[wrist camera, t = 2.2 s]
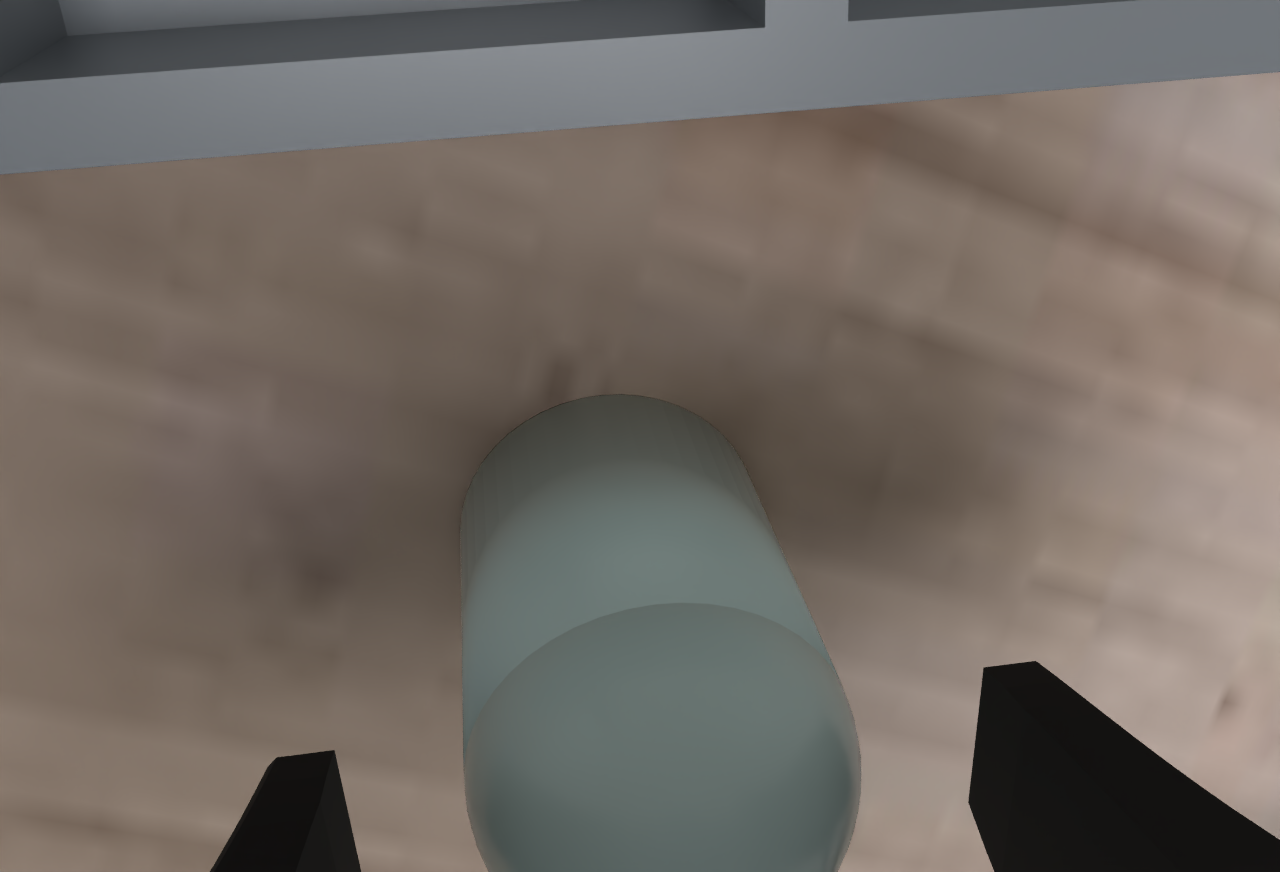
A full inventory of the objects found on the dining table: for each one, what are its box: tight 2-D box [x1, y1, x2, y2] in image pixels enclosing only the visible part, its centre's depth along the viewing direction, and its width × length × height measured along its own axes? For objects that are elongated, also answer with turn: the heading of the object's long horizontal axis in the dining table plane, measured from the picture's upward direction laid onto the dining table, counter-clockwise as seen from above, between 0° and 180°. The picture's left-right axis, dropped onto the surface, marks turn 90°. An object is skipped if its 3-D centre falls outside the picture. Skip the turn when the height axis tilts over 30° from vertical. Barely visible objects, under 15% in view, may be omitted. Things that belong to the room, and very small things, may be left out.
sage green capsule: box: [460, 395, 861, 872], centre depth 15 cm, size 4×4×7 cm
